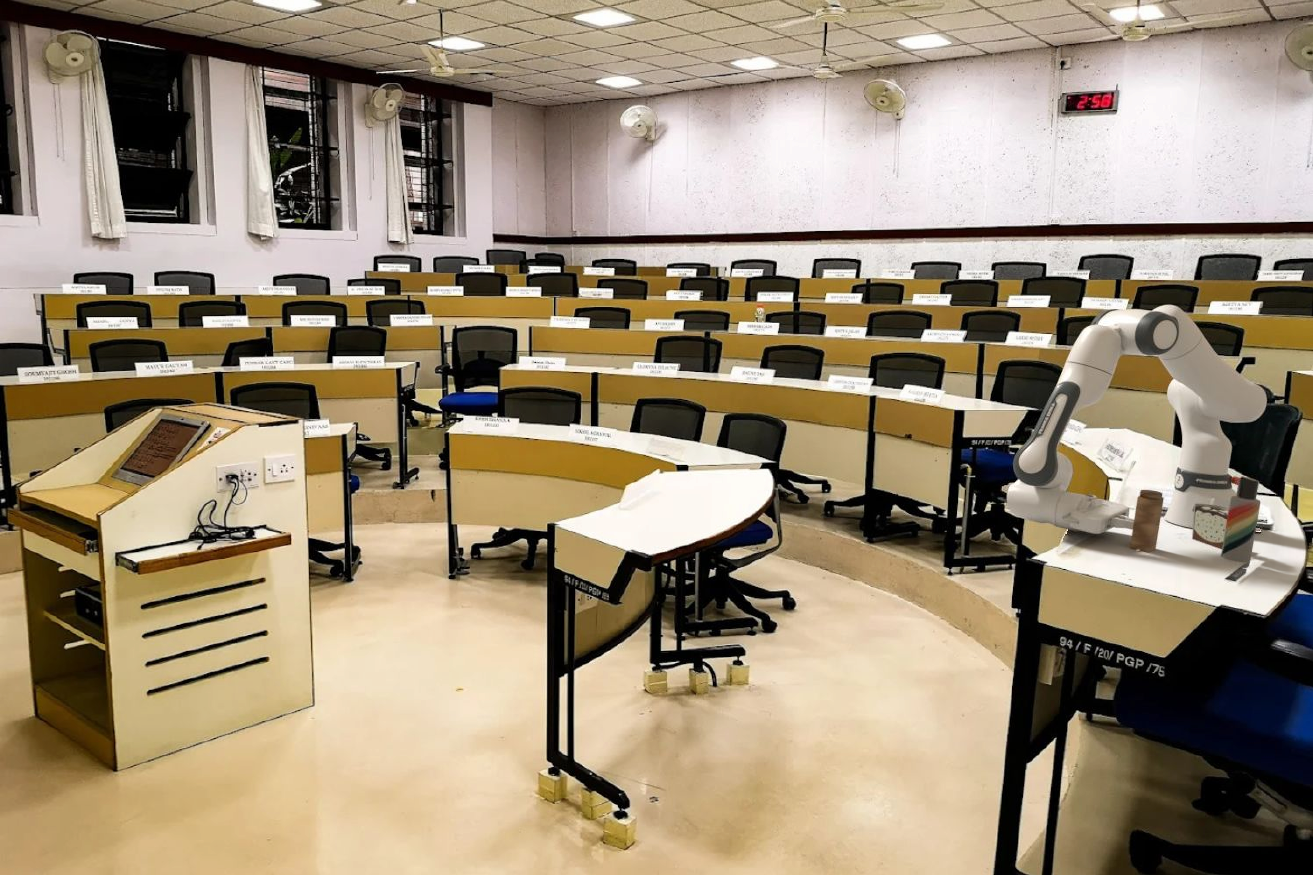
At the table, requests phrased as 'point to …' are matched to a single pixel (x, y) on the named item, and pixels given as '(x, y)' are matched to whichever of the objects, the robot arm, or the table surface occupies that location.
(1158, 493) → the brown post
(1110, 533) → the table surface
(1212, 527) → the food container
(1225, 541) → the lotion bottle
